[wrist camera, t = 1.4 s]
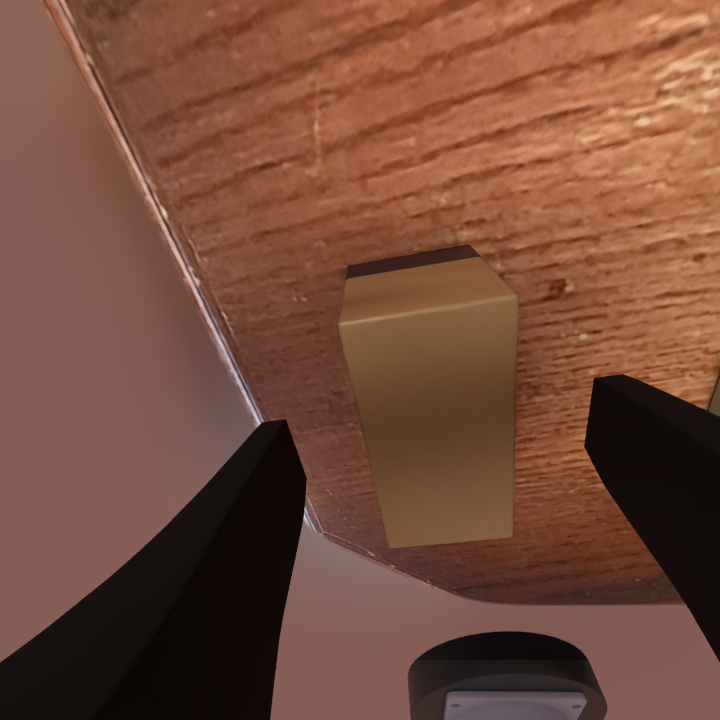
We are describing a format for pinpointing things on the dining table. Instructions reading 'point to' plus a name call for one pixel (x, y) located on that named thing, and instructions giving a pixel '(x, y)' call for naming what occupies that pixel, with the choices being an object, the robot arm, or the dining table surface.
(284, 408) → the dining table surface
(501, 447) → the eraser
